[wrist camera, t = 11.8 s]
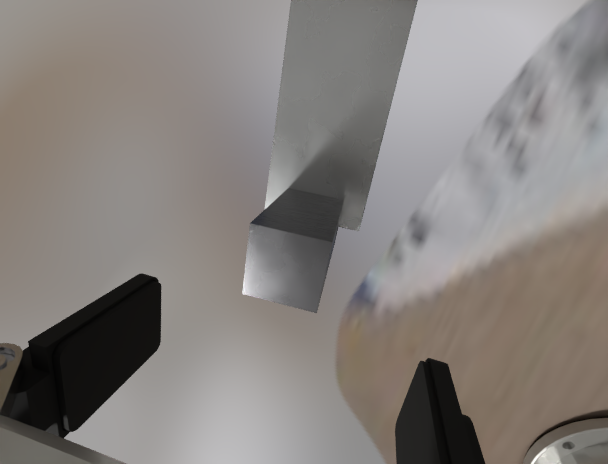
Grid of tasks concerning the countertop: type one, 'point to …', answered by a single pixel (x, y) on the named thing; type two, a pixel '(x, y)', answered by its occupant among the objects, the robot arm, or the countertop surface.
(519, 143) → the countertop surface
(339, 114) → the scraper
